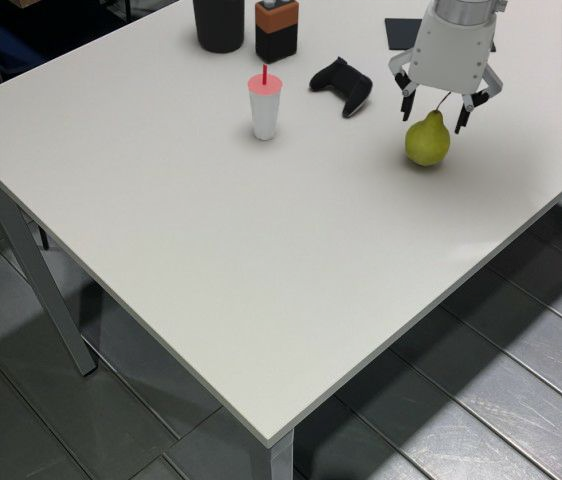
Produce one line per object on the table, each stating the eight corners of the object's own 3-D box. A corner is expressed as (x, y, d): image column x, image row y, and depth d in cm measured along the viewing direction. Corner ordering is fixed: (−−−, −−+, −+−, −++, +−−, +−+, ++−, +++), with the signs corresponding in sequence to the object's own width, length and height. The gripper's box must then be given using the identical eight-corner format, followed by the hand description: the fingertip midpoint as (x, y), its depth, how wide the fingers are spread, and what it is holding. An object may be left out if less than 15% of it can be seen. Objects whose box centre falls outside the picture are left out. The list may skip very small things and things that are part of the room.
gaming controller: (356, 125, 108) (382, 89, 105) (345, 116, 104) (372, 78, 101) (316, 93, 112) (340, 58, 109) (304, 83, 108) (329, 46, 105)
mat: (486, 22, 121) (486, 19, 121) (495, 51, 116) (496, 49, 116) (384, 19, 121) (384, 17, 121) (389, 49, 116) (389, 47, 115)
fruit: (406, 177, 98) (423, 110, 88) (396, 148, 101) (410, 80, 91) (448, 173, 99) (469, 106, 88) (436, 144, 102) (455, 77, 92)
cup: (266, 118, 105) (266, 50, 94) (287, 134, 103) (290, 66, 92) (242, 132, 103) (239, 64, 92) (263, 148, 101) (263, 80, 90)
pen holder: (248, 53, 114) (247, -3, 106) (197, 56, 113) (192, 0, 105) (243, 24, 119) (241, -32, 110) (194, 27, 118) (188, -29, 110)
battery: (254, 53, 114) (253, -4, 106) (284, 41, 116) (286, -15, 108) (267, 65, 112) (267, 8, 104) (298, 53, 115) (300, -3, 106)
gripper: (537, 1, 79) (493, 121, 94) (405, -26, 82) (383, 95, 97) (528, 32, 76) (484, 151, 91) (390, 2, 78) (370, 123, 93)
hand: (432, 121), depth 94 cm, fingers open, 7 cm apart
